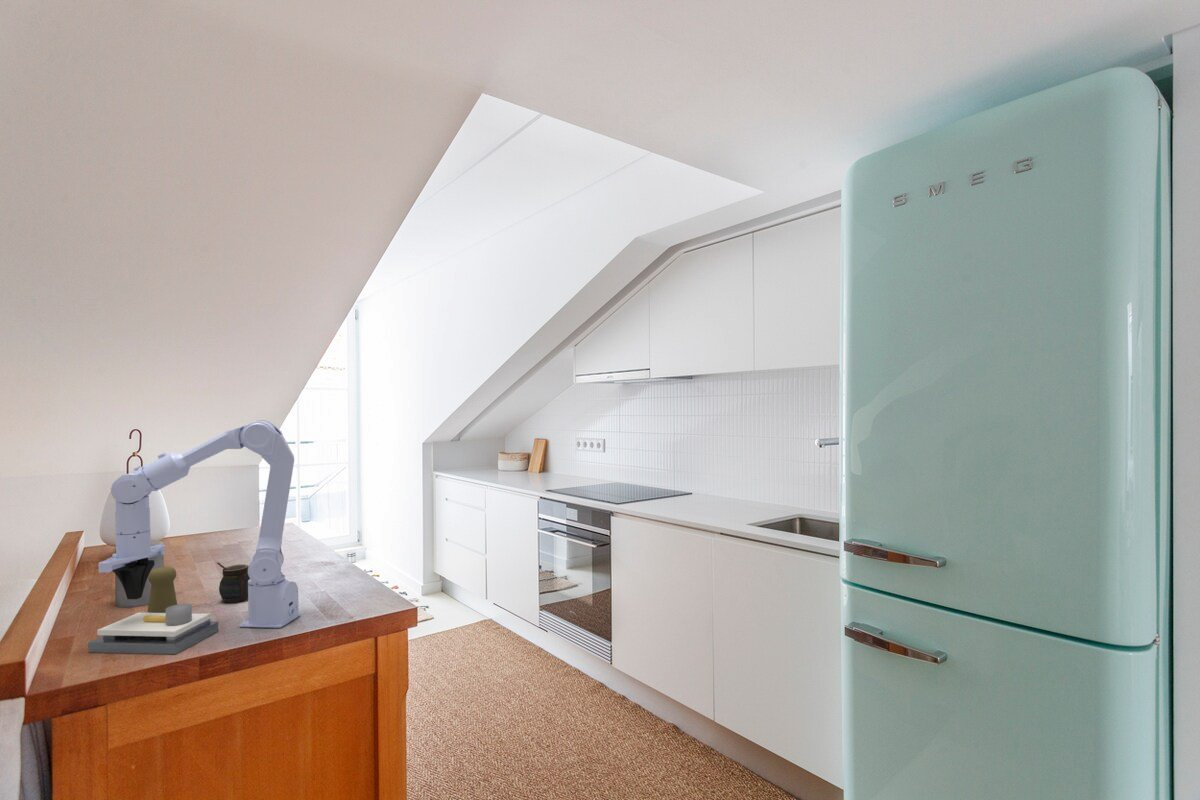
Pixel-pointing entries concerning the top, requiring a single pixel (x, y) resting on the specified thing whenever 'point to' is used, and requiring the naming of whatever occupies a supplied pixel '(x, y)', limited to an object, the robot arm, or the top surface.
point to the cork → (161, 589)
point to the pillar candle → (144, 600)
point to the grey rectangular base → (153, 641)
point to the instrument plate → (157, 623)
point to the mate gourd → (234, 583)
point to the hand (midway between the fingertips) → (134, 598)
